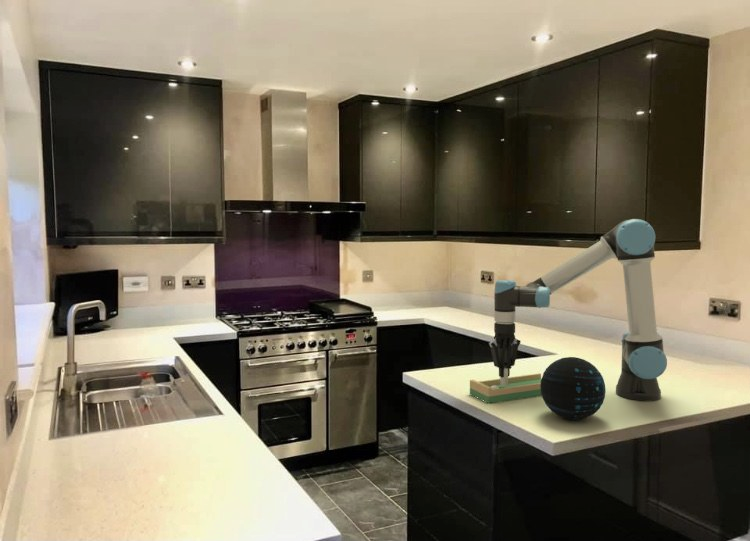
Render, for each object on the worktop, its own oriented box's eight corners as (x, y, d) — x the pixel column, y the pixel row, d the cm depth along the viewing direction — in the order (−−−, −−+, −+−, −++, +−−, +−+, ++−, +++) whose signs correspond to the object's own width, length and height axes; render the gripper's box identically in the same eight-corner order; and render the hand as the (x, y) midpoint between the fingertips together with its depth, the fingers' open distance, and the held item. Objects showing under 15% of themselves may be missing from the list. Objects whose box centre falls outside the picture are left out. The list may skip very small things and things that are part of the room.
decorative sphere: (608, 431, 172) (610, 367, 171) (540, 426, 178) (541, 363, 176) (601, 411, 192) (602, 352, 190) (539, 406, 197) (540, 349, 195)
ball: (489, 397, 206) (495, 399, 209) (498, 391, 205) (503, 393, 208) (485, 388, 209) (490, 390, 211) (493, 382, 207) (498, 384, 210)
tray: (560, 392, 213) (560, 378, 213) (488, 403, 201) (488, 388, 200) (539, 384, 224) (539, 370, 224) (469, 394, 212) (469, 379, 211)
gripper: (513, 319, 214) (512, 380, 216) (483, 322, 209) (483, 384, 211) (525, 322, 207) (524, 385, 209) (495, 325, 202) (495, 390, 204)
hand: (504, 385), depth 210 cm, fingers closed
